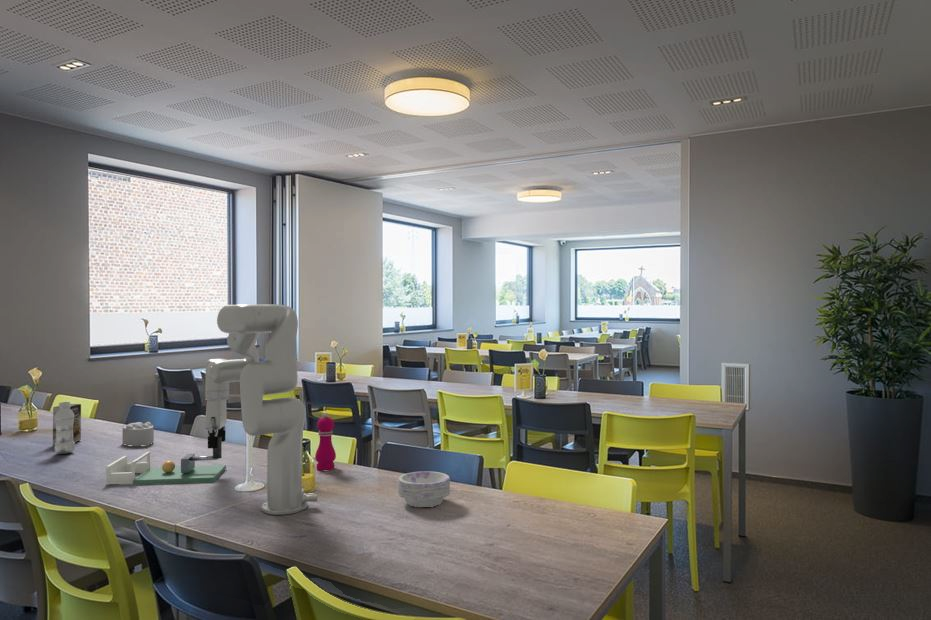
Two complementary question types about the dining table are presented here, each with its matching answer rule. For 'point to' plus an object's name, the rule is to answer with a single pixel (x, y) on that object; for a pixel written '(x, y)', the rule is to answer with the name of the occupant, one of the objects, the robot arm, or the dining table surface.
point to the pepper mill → (325, 444)
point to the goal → (126, 470)
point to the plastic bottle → (64, 429)
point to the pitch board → (180, 475)
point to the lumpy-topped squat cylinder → (138, 434)
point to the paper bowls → (424, 488)
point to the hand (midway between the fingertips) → (216, 444)
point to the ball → (168, 466)
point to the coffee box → (76, 425)
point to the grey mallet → (200, 458)
